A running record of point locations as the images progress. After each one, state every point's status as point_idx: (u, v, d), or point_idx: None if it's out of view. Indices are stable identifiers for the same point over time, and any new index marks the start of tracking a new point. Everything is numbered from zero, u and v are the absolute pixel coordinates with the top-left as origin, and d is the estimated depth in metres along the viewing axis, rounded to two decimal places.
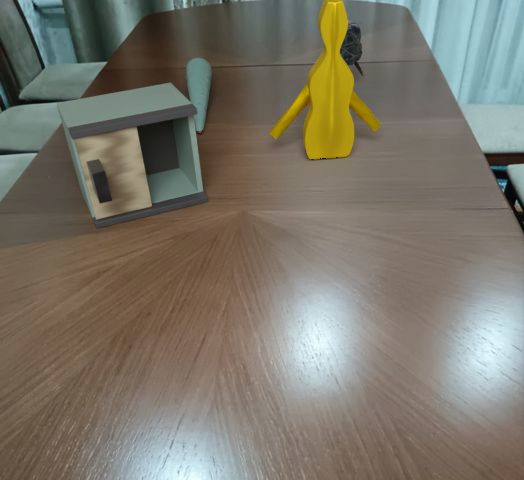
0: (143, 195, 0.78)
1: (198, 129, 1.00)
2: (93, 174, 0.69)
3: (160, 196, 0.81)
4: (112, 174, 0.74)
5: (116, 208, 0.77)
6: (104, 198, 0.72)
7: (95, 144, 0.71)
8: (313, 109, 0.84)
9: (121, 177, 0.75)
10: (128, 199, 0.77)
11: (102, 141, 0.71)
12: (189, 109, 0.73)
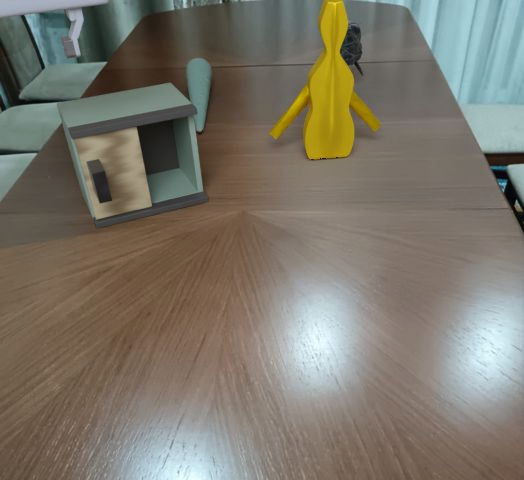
0: (143, 195, 0.78)
1: (198, 129, 1.00)
2: (93, 174, 0.69)
3: (160, 196, 0.81)
4: (112, 174, 0.74)
5: (116, 208, 0.77)
6: (104, 198, 0.72)
7: (95, 144, 0.71)
8: (313, 109, 0.84)
9: (121, 177, 0.75)
10: (128, 199, 0.77)
11: (102, 141, 0.71)
12: (189, 109, 0.73)
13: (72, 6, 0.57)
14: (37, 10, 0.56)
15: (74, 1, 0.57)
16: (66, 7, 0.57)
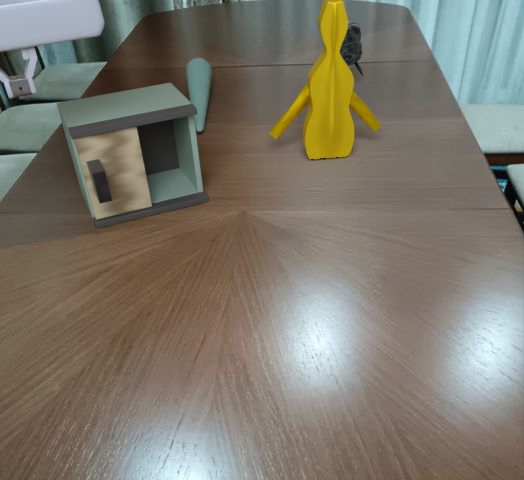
0: (143, 195, 0.78)
1: (198, 129, 1.00)
2: (93, 174, 0.69)
3: (160, 196, 0.81)
4: (112, 174, 0.74)
5: (116, 208, 0.77)
6: (104, 198, 0.72)
7: (95, 144, 0.71)
8: (313, 109, 0.84)
9: (121, 177, 0.75)
10: (128, 199, 0.77)
11: (102, 141, 0.71)
12: (189, 109, 0.73)
13: (64, 39, 0.58)
14: (30, 44, 0.58)
15: (66, 35, 0.58)
16: (58, 40, 0.58)
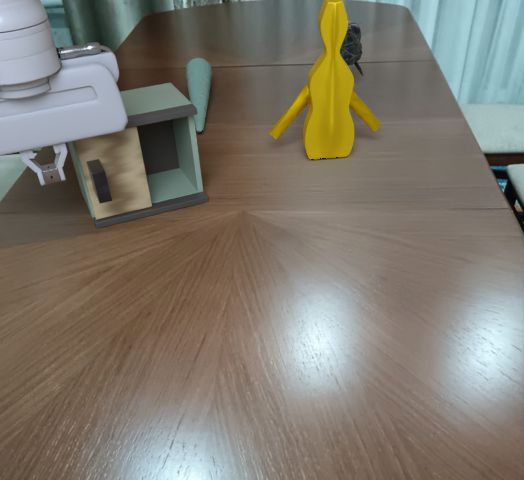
0: (143, 195, 0.78)
1: (198, 129, 1.00)
2: (93, 174, 0.69)
3: (160, 196, 0.81)
4: (112, 174, 0.74)
5: (116, 208, 0.77)
6: (104, 198, 0.72)
7: (95, 144, 0.71)
8: (313, 109, 0.84)
9: (121, 177, 0.75)
10: (128, 199, 0.77)
11: (102, 141, 0.71)
12: (189, 109, 0.73)
13: (92, 136, 0.65)
14: (62, 141, 0.64)
15: (93, 132, 0.65)
16: (87, 137, 0.65)
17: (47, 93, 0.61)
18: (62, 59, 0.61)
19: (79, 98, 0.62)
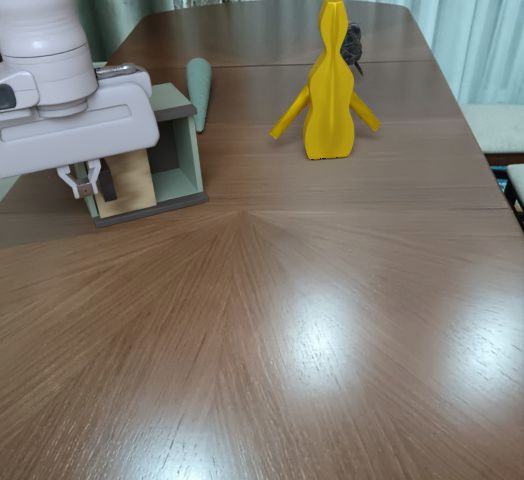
0: (148, 194, 0.78)
1: (198, 129, 1.00)
2: None
3: (160, 196, 0.81)
4: (117, 173, 0.74)
5: (121, 207, 0.77)
6: (109, 197, 0.72)
7: None
8: (313, 109, 0.84)
9: (126, 176, 0.75)
10: (133, 198, 0.77)
11: None
12: (189, 109, 0.73)
13: (125, 151, 0.68)
14: (97, 157, 0.67)
15: (127, 147, 0.67)
16: (120, 152, 0.67)
17: (84, 111, 0.63)
18: (99, 79, 0.63)
19: (115, 116, 0.65)
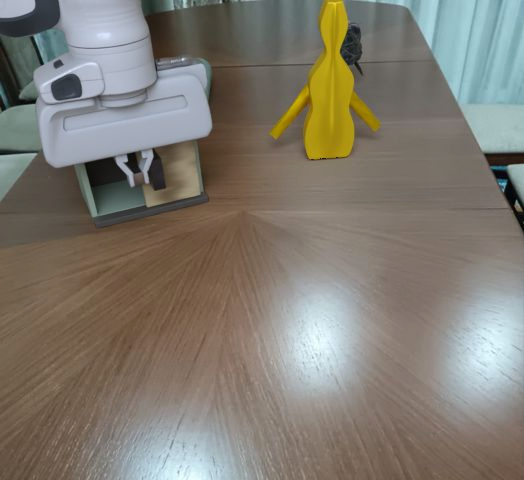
0: (193, 183, 0.79)
1: None
2: None
3: None
4: (165, 163, 0.76)
5: (166, 196, 0.79)
6: (159, 186, 0.73)
7: None
8: (313, 109, 0.84)
9: (173, 165, 0.77)
10: (178, 187, 0.79)
11: None
12: None
13: (179, 141, 0.69)
14: (152, 146, 0.68)
15: (181, 137, 0.69)
16: (175, 142, 0.69)
17: (143, 102, 0.65)
18: (158, 70, 0.65)
19: (171, 106, 0.67)
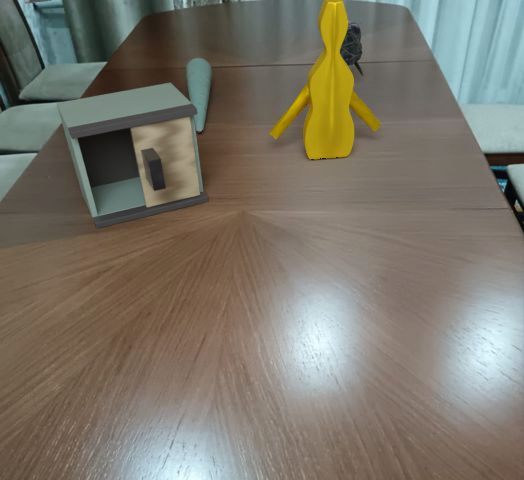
0: (192, 184, 0.79)
1: (198, 129, 1.00)
2: (149, 162, 0.71)
3: None
4: (164, 163, 0.76)
5: (166, 196, 0.79)
6: (158, 186, 0.73)
7: (149, 133, 0.73)
8: (313, 109, 0.84)
9: (173, 165, 0.77)
10: (178, 187, 0.79)
11: (157, 130, 0.73)
12: (189, 109, 0.73)
13: None
14: None
15: None
16: None
17: None
18: None
19: None
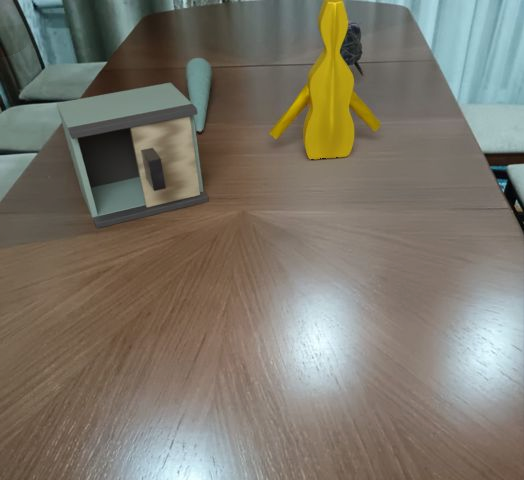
0: (192, 184, 0.79)
1: (198, 129, 1.00)
2: (149, 162, 0.71)
3: None
4: (164, 163, 0.76)
5: (166, 196, 0.79)
6: (158, 186, 0.73)
7: (149, 133, 0.73)
8: (313, 109, 0.84)
9: (173, 165, 0.77)
10: (178, 187, 0.79)
11: (157, 130, 0.73)
12: (189, 109, 0.73)
13: None
14: None
15: None
16: None
17: None
18: None
19: None
